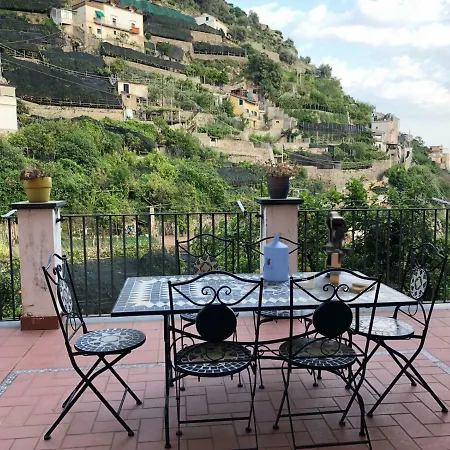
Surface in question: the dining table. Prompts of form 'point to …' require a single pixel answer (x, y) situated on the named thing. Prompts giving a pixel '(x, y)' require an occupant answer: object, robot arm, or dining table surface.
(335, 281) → the bobbin
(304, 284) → the bracket
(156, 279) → the dining table surface
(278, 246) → the water jug
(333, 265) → the salmon orange block
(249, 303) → the dining table surface
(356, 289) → the notched board
